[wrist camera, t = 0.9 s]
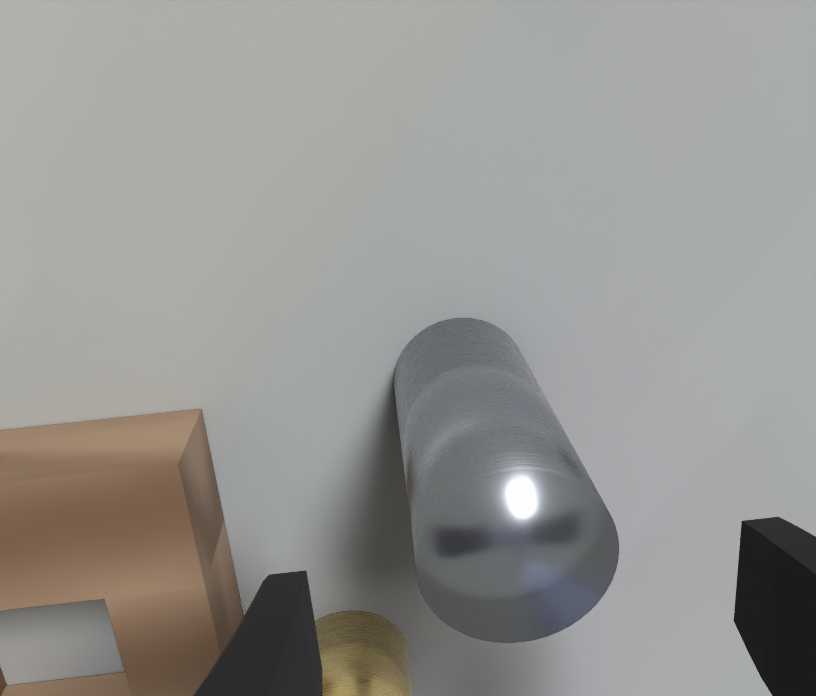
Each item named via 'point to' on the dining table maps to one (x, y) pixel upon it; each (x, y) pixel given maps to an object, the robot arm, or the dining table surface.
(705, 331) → the dining table surface
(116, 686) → the collar block
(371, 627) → the brass pin short
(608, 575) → the steel pin long
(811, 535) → the robot arm
